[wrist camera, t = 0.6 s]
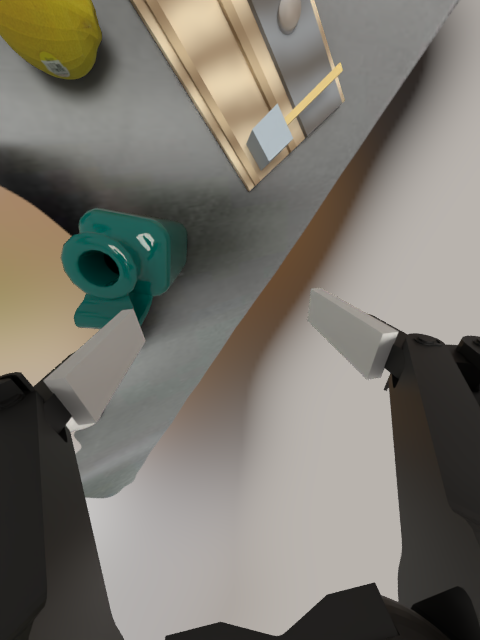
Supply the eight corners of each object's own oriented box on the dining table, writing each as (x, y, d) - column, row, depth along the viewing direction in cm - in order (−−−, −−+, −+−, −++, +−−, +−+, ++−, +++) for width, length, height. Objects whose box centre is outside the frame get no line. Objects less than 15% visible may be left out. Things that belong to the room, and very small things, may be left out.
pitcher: (136, 213, 31) (7, 192, 11) (188, 223, 32) (152, 219, 13) (140, 271, 35) (52, 327, 16) (185, 277, 36) (156, 335, 17)
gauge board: (90, -64, 19) (41, -180, 14) (217, -277, 15) (221, -549, 10) (248, 191, 31) (256, 184, 26) (339, 105, 28) (371, 75, 22)
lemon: (25, 78, 23) (-59, 12, 16) (3, -28, 19) (-117, -173, 12) (121, 110, 25) (85, 65, 18) (116, 21, 22) (70, -77, 15)
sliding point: (245, 144, 27) (252, 129, 23) (315, 73, 25) (336, 42, 21) (260, 170, 29) (269, 161, 25) (327, 106, 27) (349, 84, 22)
